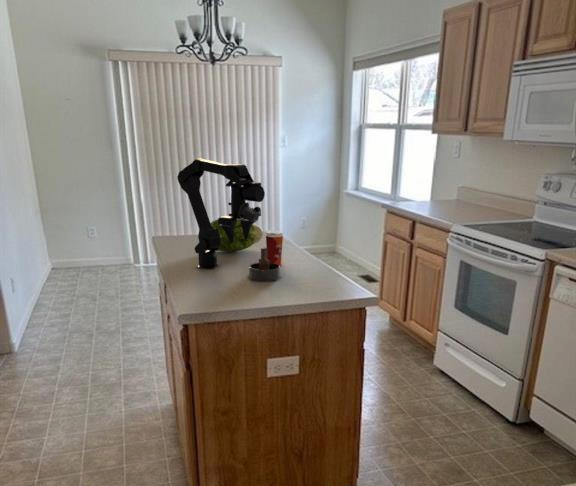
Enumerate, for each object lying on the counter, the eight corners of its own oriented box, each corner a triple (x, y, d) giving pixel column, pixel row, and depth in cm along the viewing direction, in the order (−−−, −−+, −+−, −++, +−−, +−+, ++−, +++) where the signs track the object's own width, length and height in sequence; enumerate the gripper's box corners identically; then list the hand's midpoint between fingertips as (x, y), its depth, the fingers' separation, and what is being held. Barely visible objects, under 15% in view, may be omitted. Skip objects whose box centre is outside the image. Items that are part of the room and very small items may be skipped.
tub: (244, 279, 202) (244, 268, 201) (255, 272, 213) (255, 261, 211) (273, 282, 199) (274, 271, 198) (282, 275, 210) (283, 263, 208)
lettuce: (267, 252, 245) (268, 218, 239) (211, 256, 236) (209, 221, 230) (257, 245, 258) (257, 213, 252) (203, 249, 248) (201, 215, 243)
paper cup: (281, 268, 219) (281, 234, 214) (263, 266, 220) (263, 233, 215) (285, 263, 226) (285, 230, 221) (267, 262, 228) (267, 229, 222)
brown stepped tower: (254, 276, 205) (253, 248, 201) (262, 273, 209) (262, 245, 205) (266, 279, 202) (266, 250, 198) (274, 275, 207) (274, 247, 203)
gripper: (241, 204, 188) (241, 248, 194) (269, 198, 203) (269, 239, 209) (216, 201, 194) (217, 244, 200) (246, 196, 209) (246, 236, 214)
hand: (239, 240), depth 206 cm, fingers open, 9 cm apart
